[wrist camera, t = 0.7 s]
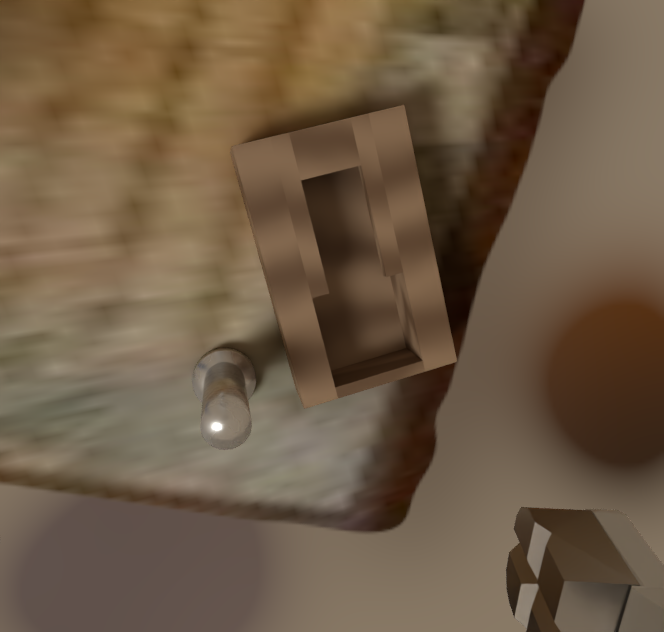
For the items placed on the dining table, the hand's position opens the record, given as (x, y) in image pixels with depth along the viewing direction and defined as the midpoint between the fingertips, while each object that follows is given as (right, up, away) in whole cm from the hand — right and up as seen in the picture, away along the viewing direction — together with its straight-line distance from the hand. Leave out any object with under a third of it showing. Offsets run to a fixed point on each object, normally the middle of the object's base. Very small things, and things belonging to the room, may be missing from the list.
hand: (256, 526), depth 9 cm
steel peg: (-9, -2, +44) cm, 45 cm away
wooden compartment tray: (+2, +9, +44) cm, 45 cm away
